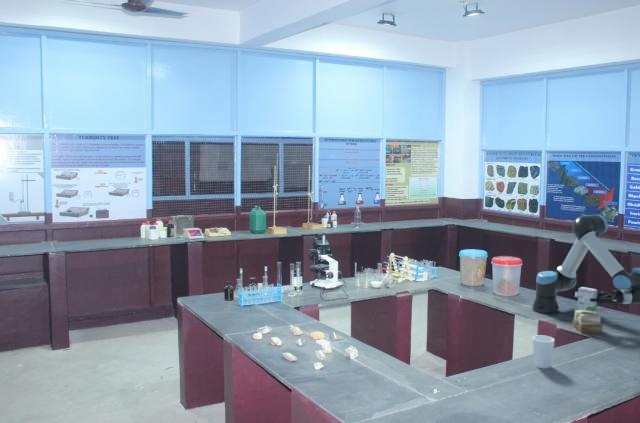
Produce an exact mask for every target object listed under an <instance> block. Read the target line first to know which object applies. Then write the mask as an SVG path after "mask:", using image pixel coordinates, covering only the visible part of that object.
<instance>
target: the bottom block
mask: <svg viewBox="0 0 640 423" xmlns="http://www.w3.org/2000/svg"><path fill="white" fill-rule="evenodd" d="M572 327H573V328H574V329H575V328H576V331H578V332H579V333H580V334H602V333H603V332H602V331H603V324H602V323H600V325H583V324H580V323H579V322H578V321H577V320H575V319H574V317H573V318H572Z"/></svg>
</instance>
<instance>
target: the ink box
mask: <svg viewBox="0 0 640 423" xmlns="http://www.w3.org/2000/svg"><path fill="white" fill-rule="evenodd" d="M577 290H578V291H577V292H578V297H577V310H587V311H591V312H594V311H595V312H596V311H597V309H598V308H597V307H598V305H597V304H598V303H597V302H583V297H596V298H597V291H598V289H596V288H591V287H585V286H581V287H579V288H578V289H577Z"/></svg>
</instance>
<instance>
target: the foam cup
mask: <svg viewBox="0 0 640 423" xmlns="http://www.w3.org/2000/svg"><path fill="white" fill-rule="evenodd" d="M532 346H533V348H532V349H533V356H534V366H535V367H537V368H539V369H540V368H541V369H549V368H550V367H551V362H552V358H553V351H554V346H555V338H554V337H552V336H549V335H545V334H544V335H542V334H537V335H533V336H532Z"/></svg>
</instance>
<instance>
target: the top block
mask: <svg viewBox="0 0 640 423" xmlns="http://www.w3.org/2000/svg"><path fill="white" fill-rule="evenodd" d="M573 318H574V319H575V320H577V321H578V322H579V323H580V324H583V325H600V324H601V318H602V315H600V314H599V313H598V312H596V311H594V312H591V311H587V310H581V309H575V310H574V317H573Z"/></svg>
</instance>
